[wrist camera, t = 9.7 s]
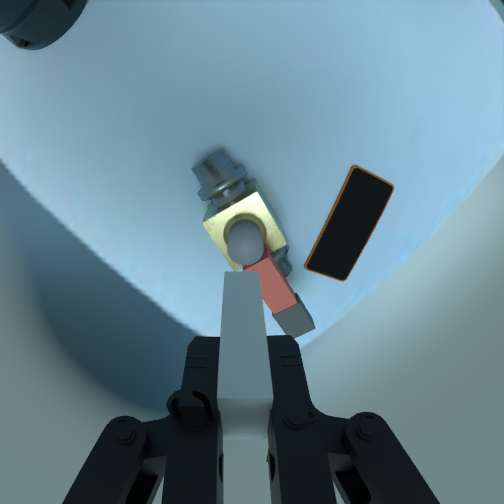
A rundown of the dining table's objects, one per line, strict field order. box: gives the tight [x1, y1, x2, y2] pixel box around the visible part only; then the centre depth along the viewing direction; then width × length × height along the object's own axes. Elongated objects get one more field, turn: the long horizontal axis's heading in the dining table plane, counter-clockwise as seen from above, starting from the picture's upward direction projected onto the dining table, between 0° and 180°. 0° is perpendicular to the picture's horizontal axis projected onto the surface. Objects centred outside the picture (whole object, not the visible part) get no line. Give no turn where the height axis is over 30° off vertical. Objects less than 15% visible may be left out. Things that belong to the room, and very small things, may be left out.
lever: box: [227, 219, 315, 338], centre depth 33 cm, size 4×15×4 cm, turn 31°
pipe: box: [191, 149, 292, 278], centre depth 36 cm, size 18×7×8 cm, turn 30°
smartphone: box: [304, 165, 394, 281], centre depth 40 cm, size 8×17×1 cm, turn 159°
